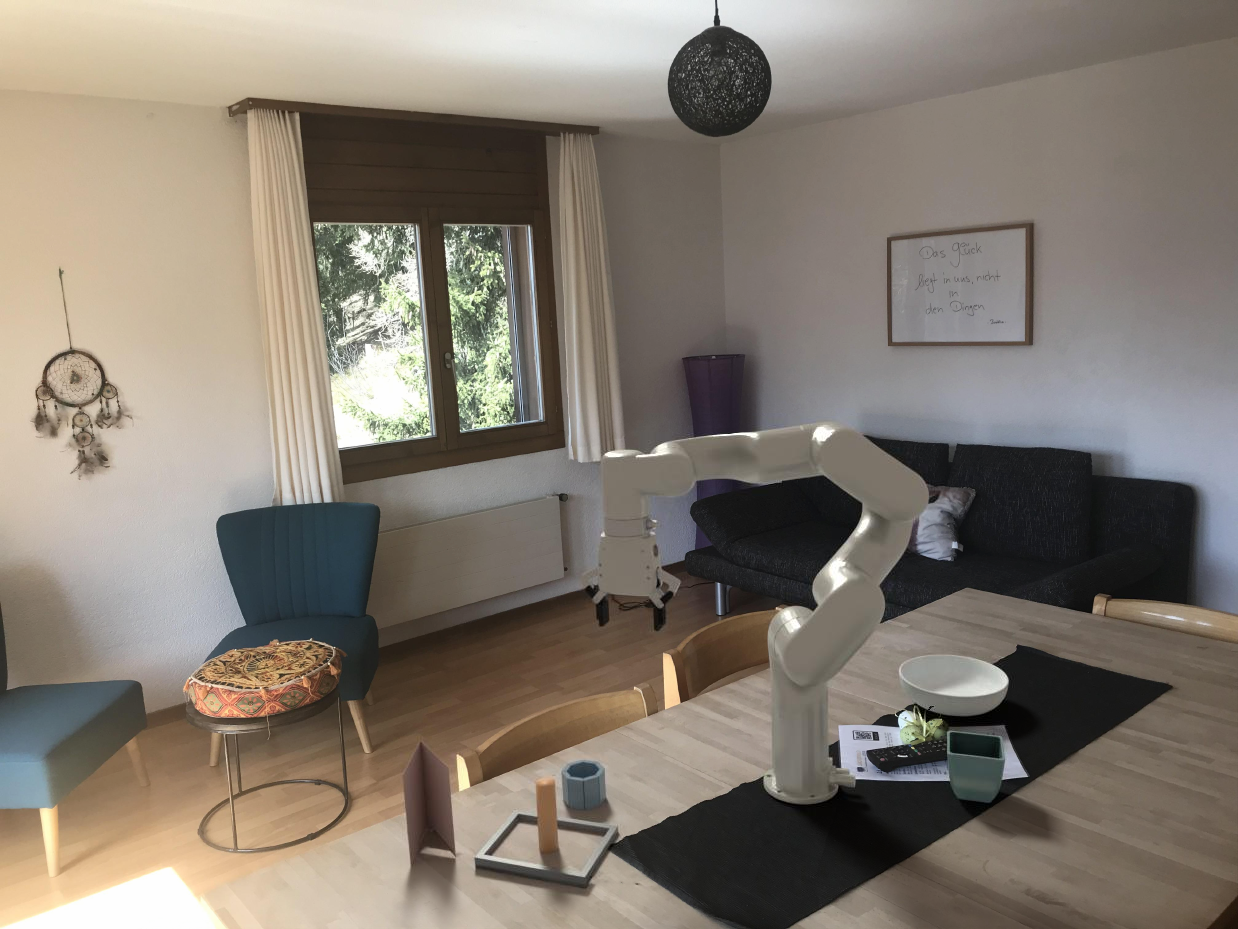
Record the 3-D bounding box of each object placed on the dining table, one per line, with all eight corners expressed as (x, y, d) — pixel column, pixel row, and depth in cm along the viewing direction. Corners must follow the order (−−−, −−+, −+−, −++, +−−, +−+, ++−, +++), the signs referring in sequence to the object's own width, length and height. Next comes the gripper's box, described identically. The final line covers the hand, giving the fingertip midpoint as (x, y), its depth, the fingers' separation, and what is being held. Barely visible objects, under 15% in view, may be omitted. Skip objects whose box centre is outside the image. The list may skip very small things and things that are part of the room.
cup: (610, 795, 162) (608, 763, 161) (596, 816, 156) (594, 782, 155) (574, 790, 165) (572, 758, 164) (558, 810, 158) (556, 777, 157)
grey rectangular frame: (618, 836, 150) (617, 826, 150) (585, 888, 137) (584, 877, 137) (516, 819, 156) (515, 809, 156) (475, 868, 143) (474, 857, 143)
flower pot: (1001, 784, 160) (1002, 735, 159) (1004, 811, 152) (1005, 759, 150) (946, 778, 163) (947, 729, 162) (946, 804, 155) (947, 753, 153)
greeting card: (422, 825, 156) (415, 740, 153) (467, 824, 156) (460, 739, 153) (405, 866, 145) (396, 775, 142) (453, 865, 144) (445, 774, 142)
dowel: (561, 844, 147) (558, 779, 145) (553, 855, 145) (550, 788, 143) (544, 841, 148) (540, 776, 146) (535, 852, 146) (532, 785, 144)
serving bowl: (893, 721, 186) (893, 688, 184) (904, 680, 205) (904, 650, 204) (1007, 735, 178) (1008, 700, 177) (1007, 691, 197) (1008, 660, 196)
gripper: (684, 522, 155) (687, 622, 158) (586, 518, 161) (591, 615, 164) (670, 534, 148) (674, 638, 151) (569, 529, 154) (574, 630, 157)
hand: (631, 626), depth 157 cm, fingers open, 9 cm apart
